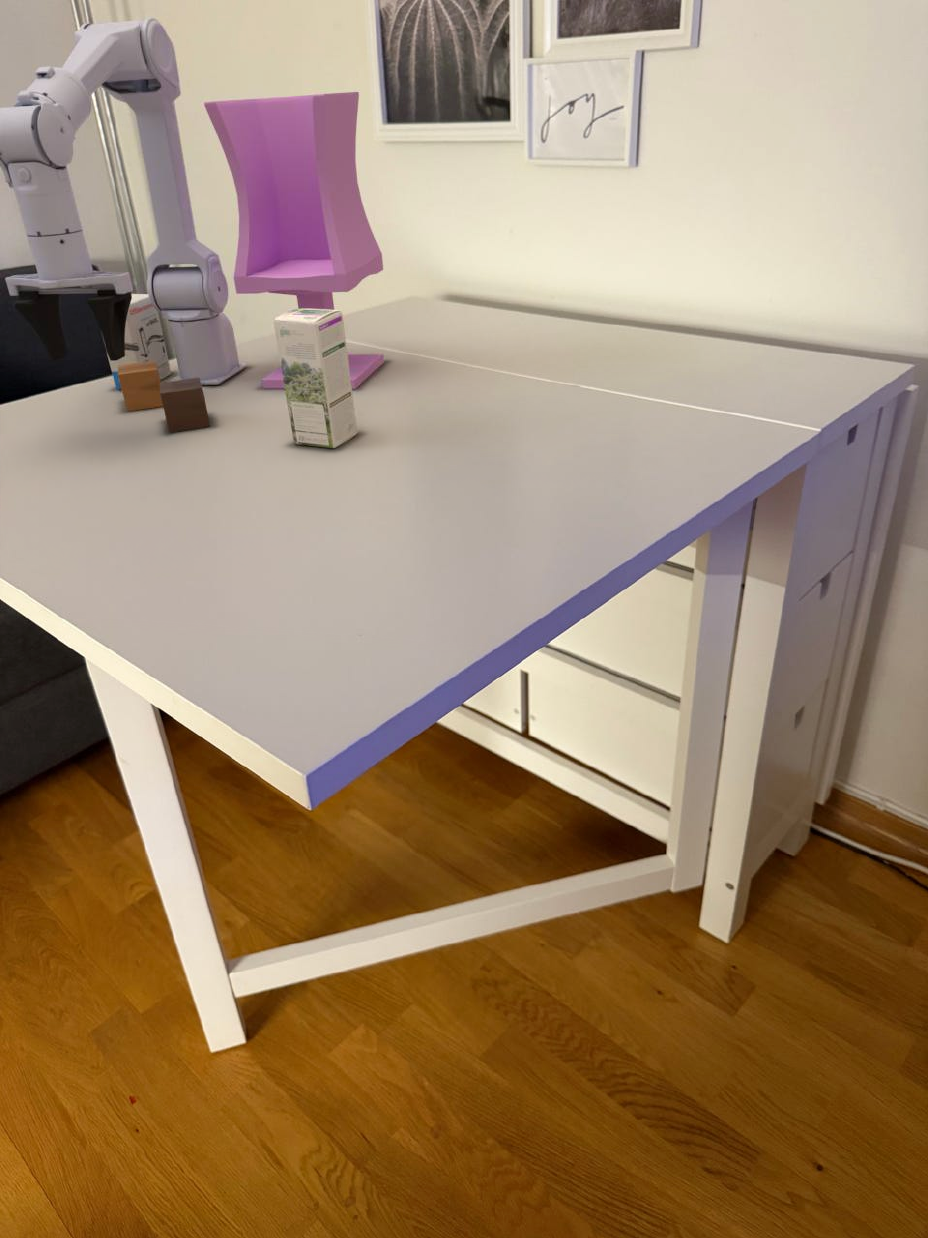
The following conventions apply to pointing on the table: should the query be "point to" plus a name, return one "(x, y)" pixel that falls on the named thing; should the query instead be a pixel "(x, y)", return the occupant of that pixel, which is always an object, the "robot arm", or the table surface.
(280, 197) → the purple pedestal chair
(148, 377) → the oak block
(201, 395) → the walnut block
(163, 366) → the ink box
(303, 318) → the syrup box
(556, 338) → the table surface
